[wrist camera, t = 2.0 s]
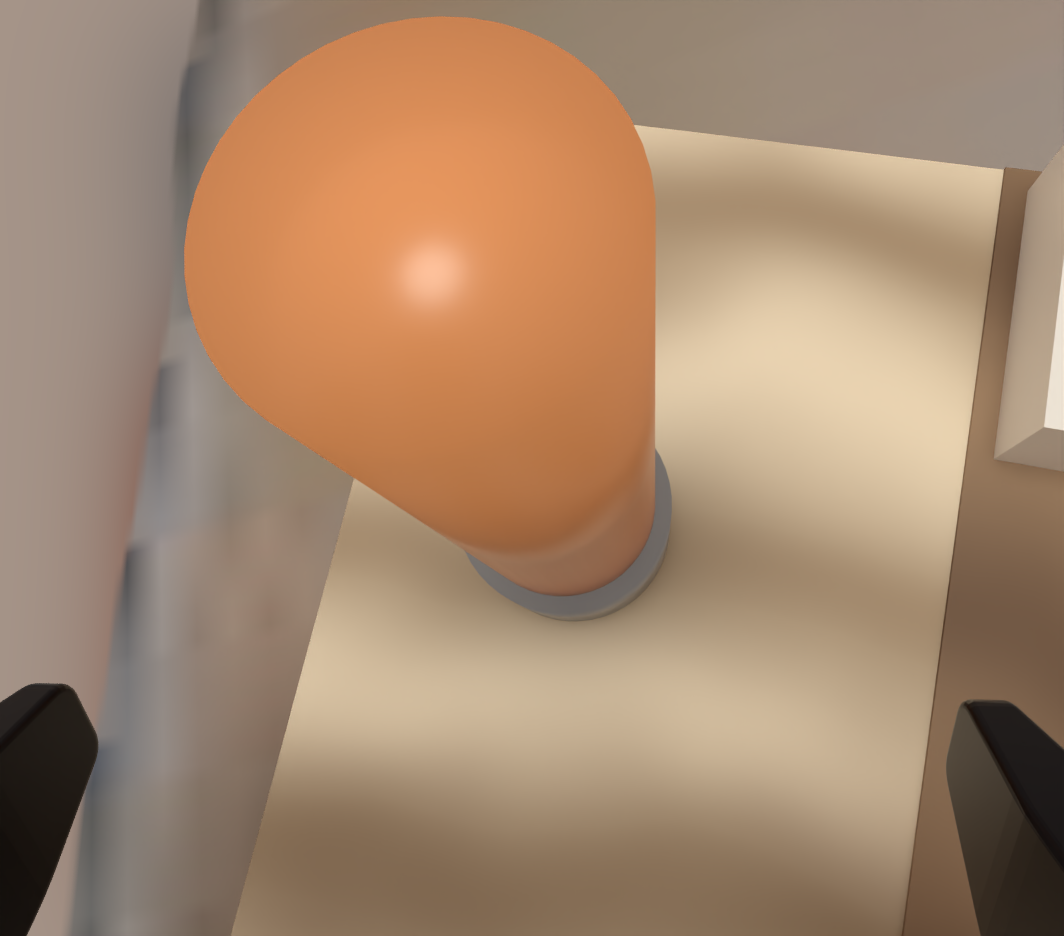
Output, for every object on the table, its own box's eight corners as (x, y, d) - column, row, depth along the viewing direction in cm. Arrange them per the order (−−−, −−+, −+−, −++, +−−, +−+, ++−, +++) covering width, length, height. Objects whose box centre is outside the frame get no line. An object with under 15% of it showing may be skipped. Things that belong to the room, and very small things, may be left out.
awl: (649, 640, 18) (636, 561, 6) (461, 598, 19) (72, 443, 6) (686, 452, 19) (748, 8, 6) (504, 419, 20) (234, -40, 7)
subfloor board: (1556, 1444, 15) (1662, 1535, 13) (235, 1014, 19) (199, 1044, 17) (1556, 279, 19) (1637, 244, 17) (467, 139, 23) (454, 100, 21)
